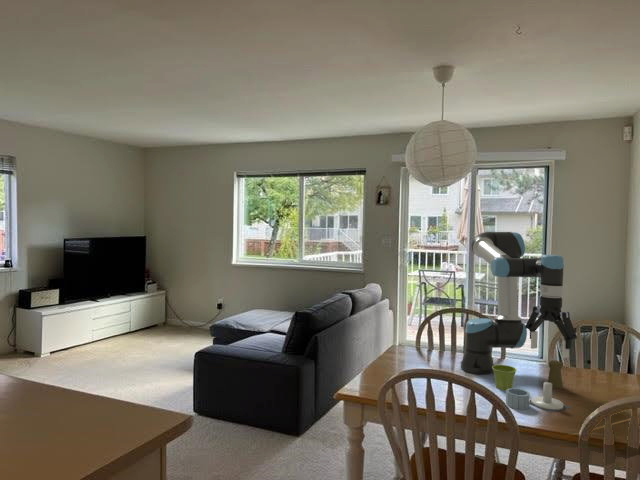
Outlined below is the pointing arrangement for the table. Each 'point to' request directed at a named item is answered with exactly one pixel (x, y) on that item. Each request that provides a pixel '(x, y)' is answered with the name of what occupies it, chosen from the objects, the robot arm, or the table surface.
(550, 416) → the table surface
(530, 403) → the mat
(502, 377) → the plant pot
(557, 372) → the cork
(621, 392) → the table surface
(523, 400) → the bowl
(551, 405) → the lid
